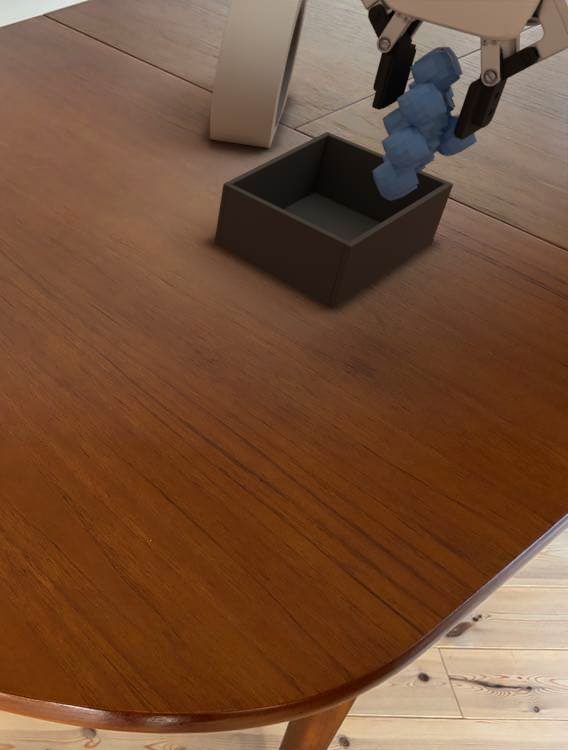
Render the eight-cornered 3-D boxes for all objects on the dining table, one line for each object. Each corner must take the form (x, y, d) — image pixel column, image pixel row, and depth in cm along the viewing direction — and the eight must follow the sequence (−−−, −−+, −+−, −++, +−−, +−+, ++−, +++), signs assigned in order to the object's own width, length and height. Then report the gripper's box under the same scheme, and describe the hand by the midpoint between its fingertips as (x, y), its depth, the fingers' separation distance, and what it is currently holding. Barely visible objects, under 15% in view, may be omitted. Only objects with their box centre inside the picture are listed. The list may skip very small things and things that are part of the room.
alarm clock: (264, 164, 104) (297, -7, 91) (203, 155, 106) (227, -14, 93) (289, 93, 119) (320, -64, 105) (235, 86, 121) (259, -70, 107)
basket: (430, 247, 91) (453, 183, 86) (332, 312, 83) (351, 246, 78) (312, 192, 100) (327, 131, 94) (213, 246, 92) (223, 183, 87)
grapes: (432, 250, 63) (501, 92, 54) (340, 224, 65) (392, 68, 56) (458, 178, 70) (522, 29, 61) (374, 157, 72) (424, 9, 63)
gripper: (704, -167, 47) (568, 141, 59) (418, -203, 57) (353, 68, 69) (645, -143, 44) (515, 178, 56) (352, -186, 53) (296, 96, 66)
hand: (426, 115), depth 62 cm, fingers closed on grapes, 5 cm apart
